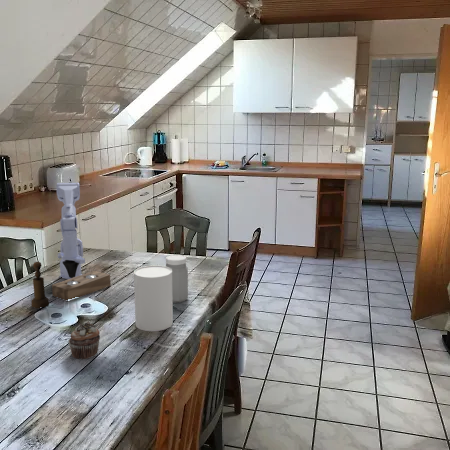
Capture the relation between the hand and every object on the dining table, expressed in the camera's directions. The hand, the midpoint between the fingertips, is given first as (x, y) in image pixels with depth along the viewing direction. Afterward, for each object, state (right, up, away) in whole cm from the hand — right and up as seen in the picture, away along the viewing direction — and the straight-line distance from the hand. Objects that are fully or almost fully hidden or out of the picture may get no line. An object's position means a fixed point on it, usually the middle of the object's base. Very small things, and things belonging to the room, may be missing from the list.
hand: (72, 277), depth 207 cm
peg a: (0, -7, +2) cm, 8 cm away
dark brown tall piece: (-9, -10, -10) cm, 17 cm away
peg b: (+5, -5, +10) cm, 12 cm away
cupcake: (+19, -20, -48) cm, 55 cm away
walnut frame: (+3, -6, +6) cm, 9 cm away
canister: (+38, -14, -25) cm, 48 cm away
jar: (+44, -9, -2) cm, 45 cm away
